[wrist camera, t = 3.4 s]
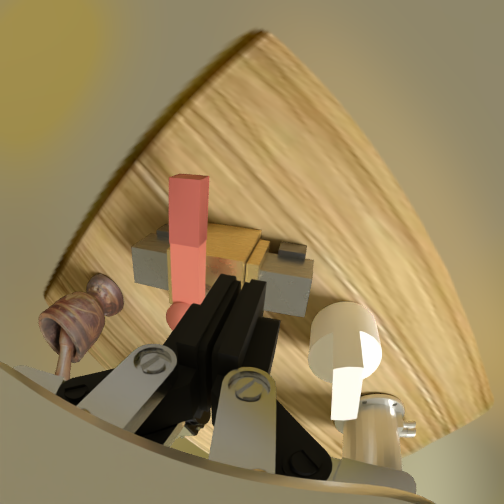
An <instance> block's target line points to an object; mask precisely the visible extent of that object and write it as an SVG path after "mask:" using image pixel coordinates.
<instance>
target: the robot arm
mask: <svg viewBox="0 0 504 504" xmlns="http://www.w3.org/2000/svg"><path fill="white" fill-rule="evenodd" d="M266 285H267V282H266V281H261V280H255V279H251V281H250V283H249V282H245V283H244V285H243V287H242V289H241V281H238V280H237V278H236V276H232V275H227V274H220V275H219V277H218V278H217V280H216V282H215V283H214V285H213V286H212V288H211V289H210V291H209V292H208V294H207V295H206V297H205V298H204V300H203V301H202V303H201V304H195V303H193V304H191V306H190V307H189V308H188V310H187V311H186V313H185V314H184V315H183V317H182V318H181V320H180V321H179V323H178V324H177V326H176V327H175V328H174V330H173V331H172V333H171V334H170V336H169V337H168V339H167V340H166V342H165V343H164V344H163V345H160V344H148V345H143V346H141V347H138V348H137V349H136V350H134V351H133V352H132V353H131V354H130V355H129V356H128V357H127V358H126V359H124V360H123V361H122V362H121V363H120V364H119V365H118V366H117V367H116V368H114V369H110V370H106V371H102V372H98V373H93V374H89V375H85V376H80V377H75V378H72V379H69V380H67V381H66V380H65V378H64V377H61V376H58V375H54V374H50V373H47V372H44V371H40V370H37V369H34V368H30V367H27V366H23V365H20V366H15V367H13V368H12V367H10V366H8V365H7V364H5V363H3V362H0V504H435V503H434V502H432V501H431V500H428V499H426V498H424V497H422V496H419V495H416V483H415V481H414V479H413V477H412V476H411V475H410V474H408V473H407V472H404V471H402V459H401V449H400V439H399V437H414V436H415V434H416V429H415V425H416V422H415V421H404V420H403V417H404V414H405V410H404V405H403V403H402V402H401V401H400V400H399V399H398V398H396V397H394V396H391V395H386V394H371V395H365V396H361V397H360V401H359V408H358V414H357V419H352V420H335V427H336V428H337V430H338V431H339V432H341V433H342V434H343V448H342V459H341V460H340V459H337V458H333V457H330V456H329V454H328V453H327V451H326V450H325V449H324V448H323V447H322V446H321V445H320V444H319V443H318V442H317V441H316V440H315V439H314V438H313V437H312V436H311V435H310V434H309V433H308V432H307V431H306V430H305V429H304V428H303V427H302V426H301V425H300V424H299V423H298V422H297V421H296V420H295V419H294V418H293V417H292V416H291V415H290V413H289V412H288V411H287V410H286V409H285V408H284V407H283V406H282V405H281V404H280V403H279V402H278V401H277V399H276V384H275V381H274V380H273V378H272V376H270V371H271V367H272V363H273V358H274V354H275V349H276V344H277V339H278V333H279V327H280V320H276V319H271V318H265V317H263V310H264V302H265V294H266ZM211 406H212V424H213V426H214V431H213V436H212V442H211V447H210V453H209V459H205V458H202V457H198V456H195V455H192V454H188V453H185V452H181V451H179V450H176V449H173V448H170V446H171V444H172V443H173V442H174V440H175V439H176V437H177V436H178V435H179V433H180V432H181V430H182V429H183V427H184V425H185V421H187V420H190V419H193V417H196V418H199V419H200V418H201V416H202V414H203V411H206V412H209V410H210V408H211Z"/></svg>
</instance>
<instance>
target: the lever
mask: <svg viewBox="0 0 504 504" xmlns="http://www.w3.org/2000/svg"><path fill="white" fill-rule="evenodd" d="M208 195H209V176H202V175H191V174H177V175H175V176H172V177H169V243H170V256H171V281H172V299H173V304H172V305H171V306H170V308H169V309H168V310H167V313H166V320H167V323H168V325H169V327H170V328H171V329H172V330H174V328H175V327H176V326H177V324H178V323H179V321H180V320H181V318H182V317H183V315H184V314H185V313H186V311H187V310H188V308H189V307H190V306H191V304H193V303H195V304H201V303H202V301H203V300H204V298H205V275H206V240H207V220H208Z"/></svg>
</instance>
